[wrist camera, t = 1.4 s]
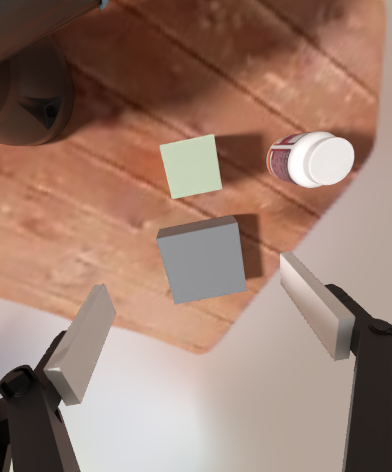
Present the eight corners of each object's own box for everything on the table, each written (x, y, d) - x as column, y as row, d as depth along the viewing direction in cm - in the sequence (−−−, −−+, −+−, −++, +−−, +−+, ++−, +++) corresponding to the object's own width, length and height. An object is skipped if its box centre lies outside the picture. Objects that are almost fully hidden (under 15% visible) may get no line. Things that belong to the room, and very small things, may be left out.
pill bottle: (290, 186, 34) (335, 202, 24) (257, 168, 33) (289, 177, 23) (315, 147, 33) (375, 147, 22) (280, 126, 31) (327, 116, 21)
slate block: (159, 229, 36) (156, 238, 32) (232, 214, 36) (237, 222, 32) (175, 290, 40) (174, 304, 37) (240, 277, 40) (246, 290, 36)
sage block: (165, 145, 32) (159, 145, 24) (206, 137, 31) (213, 133, 24) (174, 187, 34) (172, 199, 26) (213, 179, 34) (222, 188, 26)
